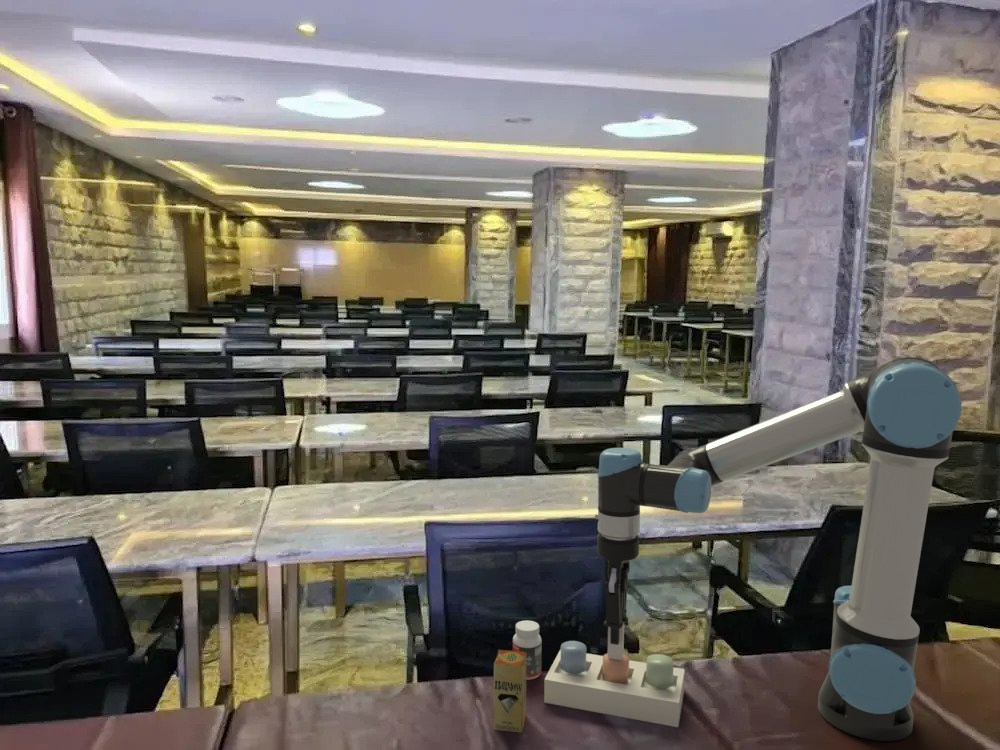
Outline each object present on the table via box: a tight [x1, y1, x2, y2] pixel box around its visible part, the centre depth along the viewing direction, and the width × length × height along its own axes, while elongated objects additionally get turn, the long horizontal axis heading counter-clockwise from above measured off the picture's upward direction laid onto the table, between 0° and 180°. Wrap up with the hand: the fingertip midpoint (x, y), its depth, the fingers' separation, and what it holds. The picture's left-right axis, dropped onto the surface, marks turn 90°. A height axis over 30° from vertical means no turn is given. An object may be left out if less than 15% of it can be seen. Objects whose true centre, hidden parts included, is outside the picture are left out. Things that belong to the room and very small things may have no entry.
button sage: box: [645, 653, 674, 689], centre depth 133 cm, size 5×5×4 cm
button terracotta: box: [602, 652, 630, 684], centre depth 136 cm, size 5×5×4 cm
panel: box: [543, 648, 686, 728], centre depth 136 cm, size 24×12×4 cm, turn 71°
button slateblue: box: [560, 640, 587, 674], centre depth 138 cm, size 5×5×4 cm
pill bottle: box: [512, 620, 543, 681], centre depth 145 cm, size 6×6×10 cm
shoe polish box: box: [493, 649, 527, 733], centre depth 128 cm, size 5×5×12 cm
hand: (615, 657), depth 136 cm, fingers closed
